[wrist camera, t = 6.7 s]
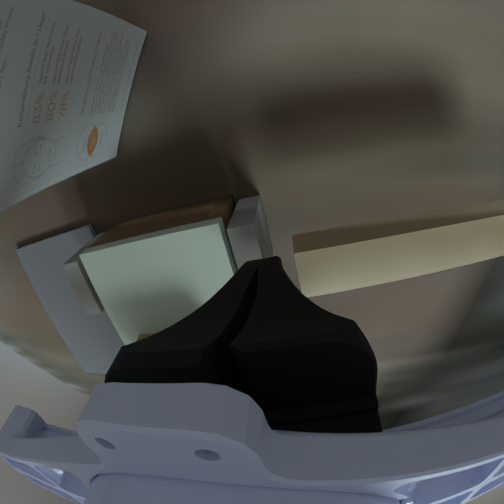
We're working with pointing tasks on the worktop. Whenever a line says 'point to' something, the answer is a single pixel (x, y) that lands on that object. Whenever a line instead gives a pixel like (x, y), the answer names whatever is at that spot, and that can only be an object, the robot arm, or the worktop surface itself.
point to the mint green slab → (159, 275)
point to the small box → (60, 91)
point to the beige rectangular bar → (398, 247)
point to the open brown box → (234, 219)
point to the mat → (70, 299)
